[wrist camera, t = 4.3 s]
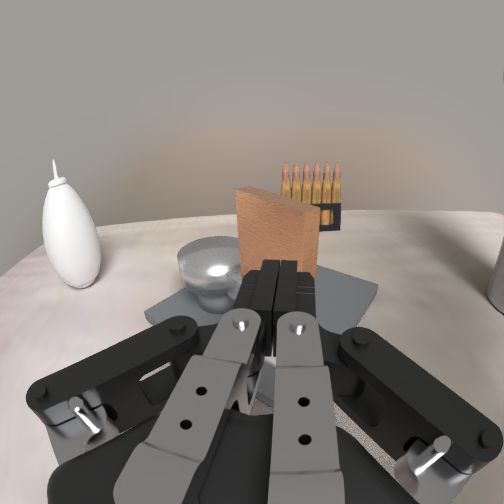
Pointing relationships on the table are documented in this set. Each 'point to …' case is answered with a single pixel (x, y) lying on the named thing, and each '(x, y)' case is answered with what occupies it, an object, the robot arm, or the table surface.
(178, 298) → the lock base
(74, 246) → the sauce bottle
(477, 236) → the table surface
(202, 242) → the twist collar
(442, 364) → the table surface
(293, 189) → the ammunition clip
